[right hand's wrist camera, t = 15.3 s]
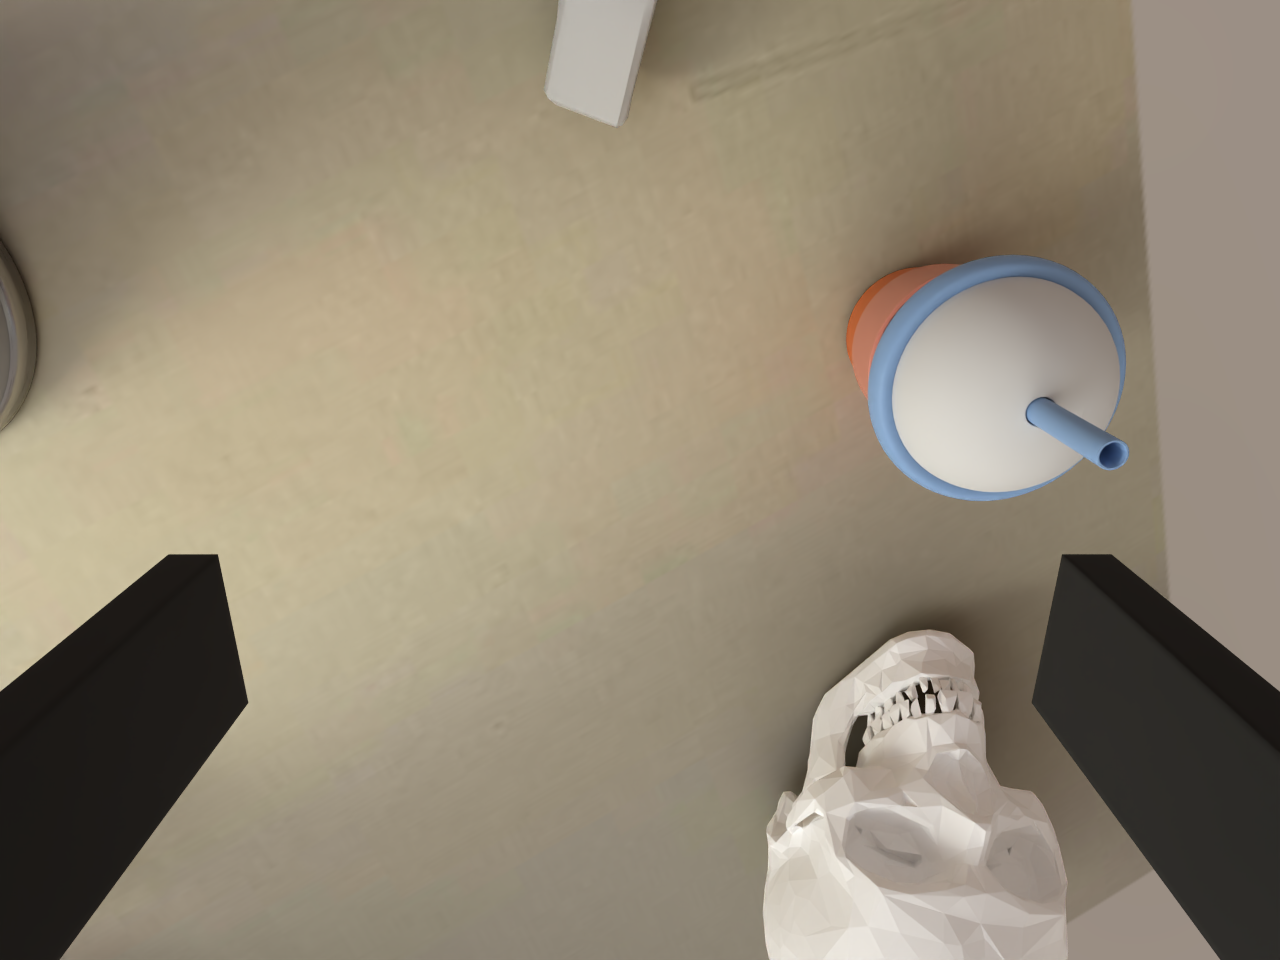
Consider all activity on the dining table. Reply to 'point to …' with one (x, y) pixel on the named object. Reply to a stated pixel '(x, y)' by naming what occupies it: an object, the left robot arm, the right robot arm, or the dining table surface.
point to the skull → (911, 828)
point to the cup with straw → (989, 374)
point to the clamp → (598, 56)
